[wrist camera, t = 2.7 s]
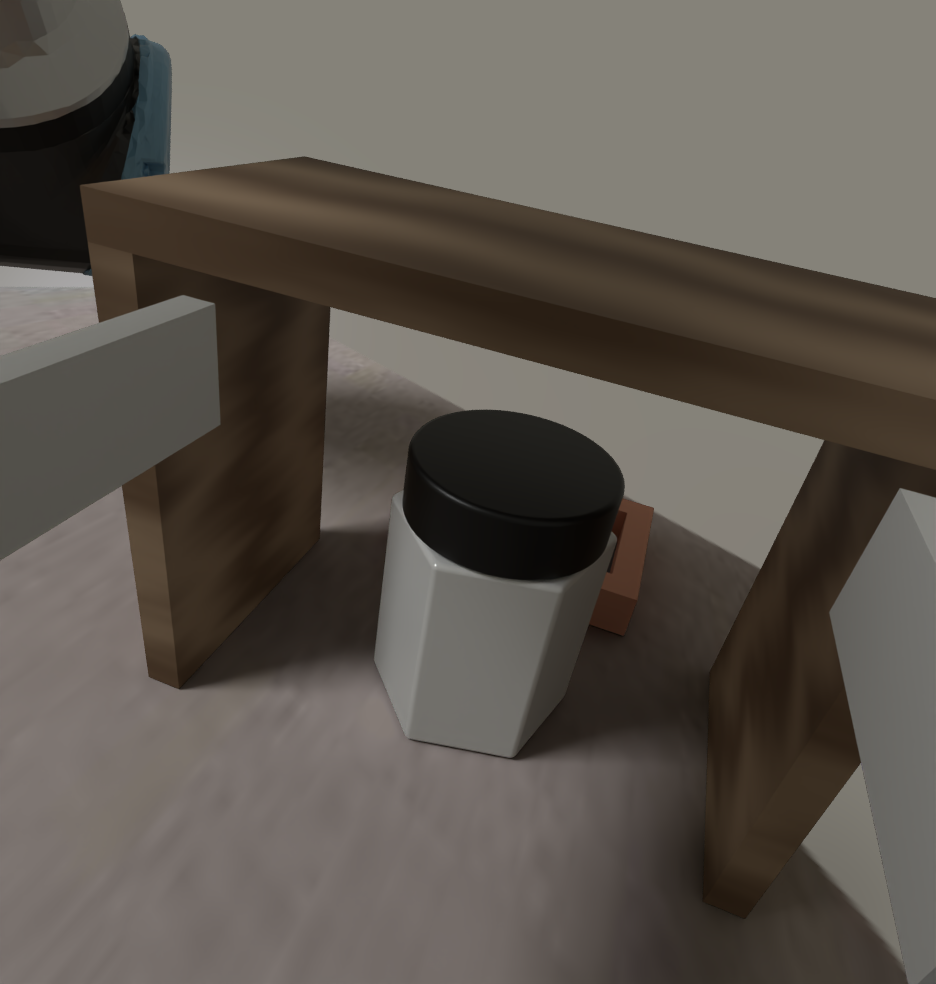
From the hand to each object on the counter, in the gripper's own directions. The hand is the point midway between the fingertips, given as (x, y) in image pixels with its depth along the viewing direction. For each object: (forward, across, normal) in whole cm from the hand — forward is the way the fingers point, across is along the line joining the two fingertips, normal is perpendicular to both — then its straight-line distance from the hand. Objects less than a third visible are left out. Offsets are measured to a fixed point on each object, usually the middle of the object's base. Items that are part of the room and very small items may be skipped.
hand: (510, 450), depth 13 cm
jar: (+11, -2, -18) cm, 21 cm away
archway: (+11, -2, -18) cm, 21 cm away
